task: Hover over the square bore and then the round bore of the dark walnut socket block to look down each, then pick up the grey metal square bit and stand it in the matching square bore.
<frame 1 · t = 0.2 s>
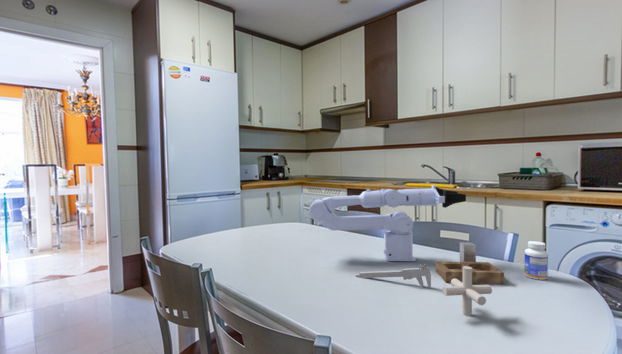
hand: (461, 196, 104), 21 cm above the table, tool horizontal, fingers open, 7 cm apart
square bit: (467, 265, 99), on the table
pill bottle: (535, 277, 89), on the table
caliper: (391, 283, 86), on the table
wooden cross jack: (467, 314, 67), on the table
socket block: (467, 277, 89), on the table
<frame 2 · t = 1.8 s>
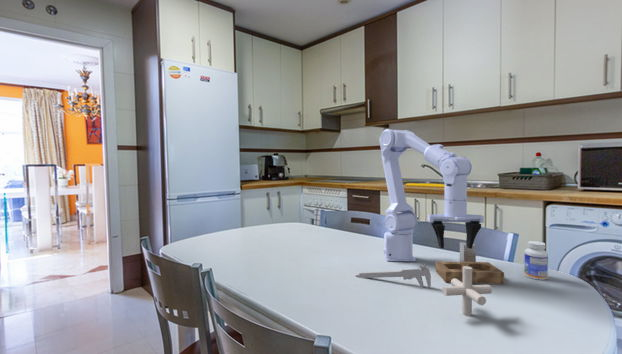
hand: (455, 247, 89), 8 cm above the table, tool pointing down, fingers open, 7 cm apart
nothing on the table moved.
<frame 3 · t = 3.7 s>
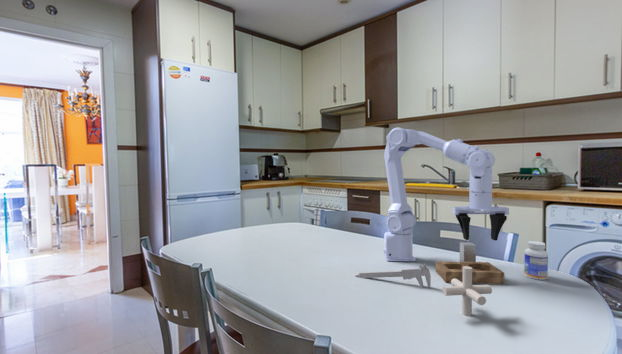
hand: (480, 239, 90), 10 cm above the table, tool pointing down, fingers open, 7 cm apart
nothing on the table moved.
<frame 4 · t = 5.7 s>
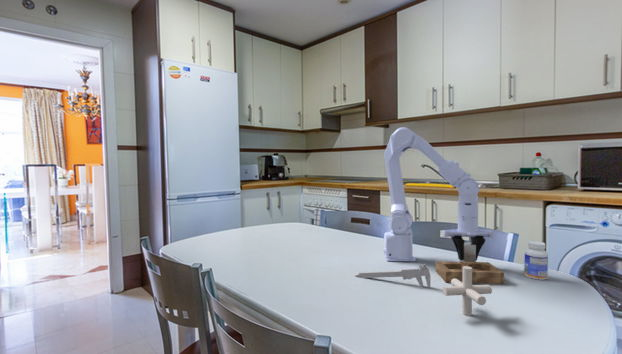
hand: (467, 259, 99), 2 cm above the table, tool pointing down, fingers closed on square bit, 3 cm apart
square bit: (467, 265, 99), on the table, touching gripper
everything else where it was.
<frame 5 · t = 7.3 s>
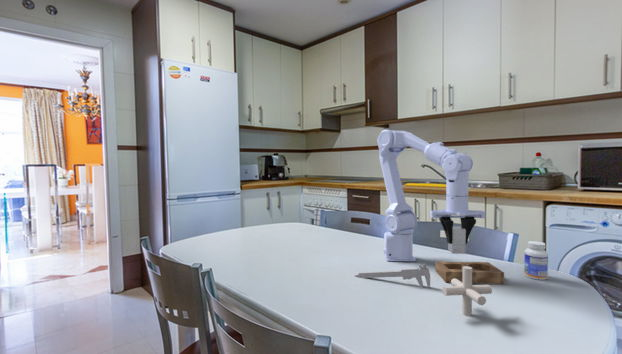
hand: (456, 243, 90), 9 cm above the table, tool pointing down, fingers closed on square bit, 3 cm apart
square bit: (456, 252, 90), point 7 cm above the table, touching gripper
everything else where it was.
when the fingers open (4 cm above the table, at t = 9.2 s): square bit stays where it is, resting in socket block.
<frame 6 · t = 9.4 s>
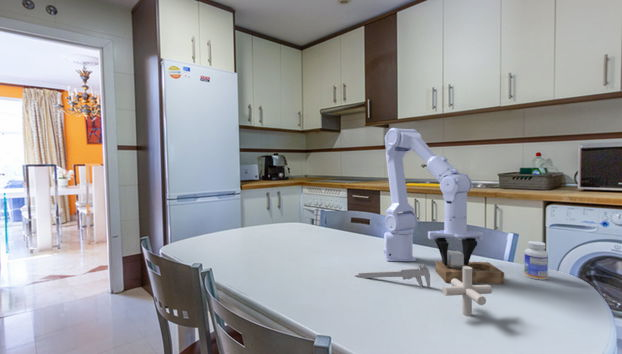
hand: (455, 264, 89), 4 cm above the table, tool pointing down, fingers open, 5 cm apart
square bit: (454, 276, 89), resting in socket block
everything else where it was.
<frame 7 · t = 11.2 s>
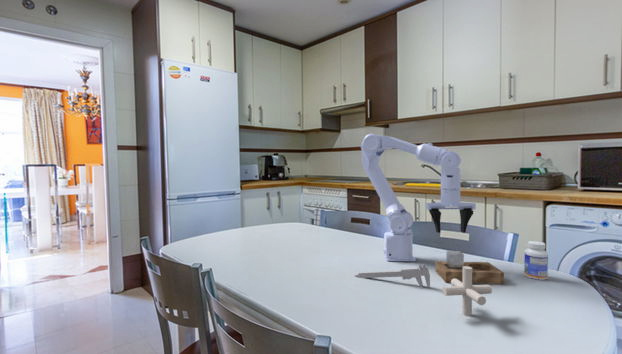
hand: (450, 232, 100), 10 cm above the table, tool pointing down, fingers open, 7 cm apart
nothing on the table moved.
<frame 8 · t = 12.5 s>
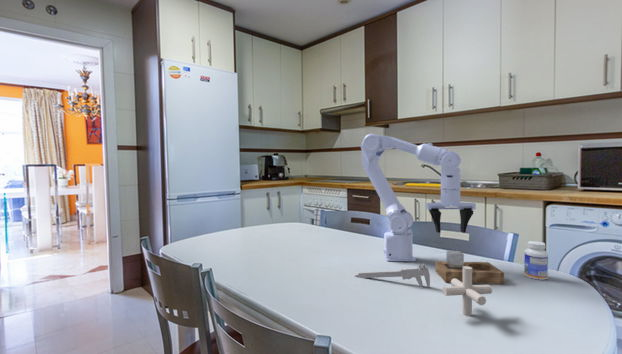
hand: (450, 232, 100), 10 cm above the table, tool pointing down, fingers open, 7 cm apart
nothing on the table moved.
at the end: square bit 0.2 cm from the target spot on the socket block, point 0.0 cm above the socket block's base; square bit tilted 0°; the gripper is holding nothing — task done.
